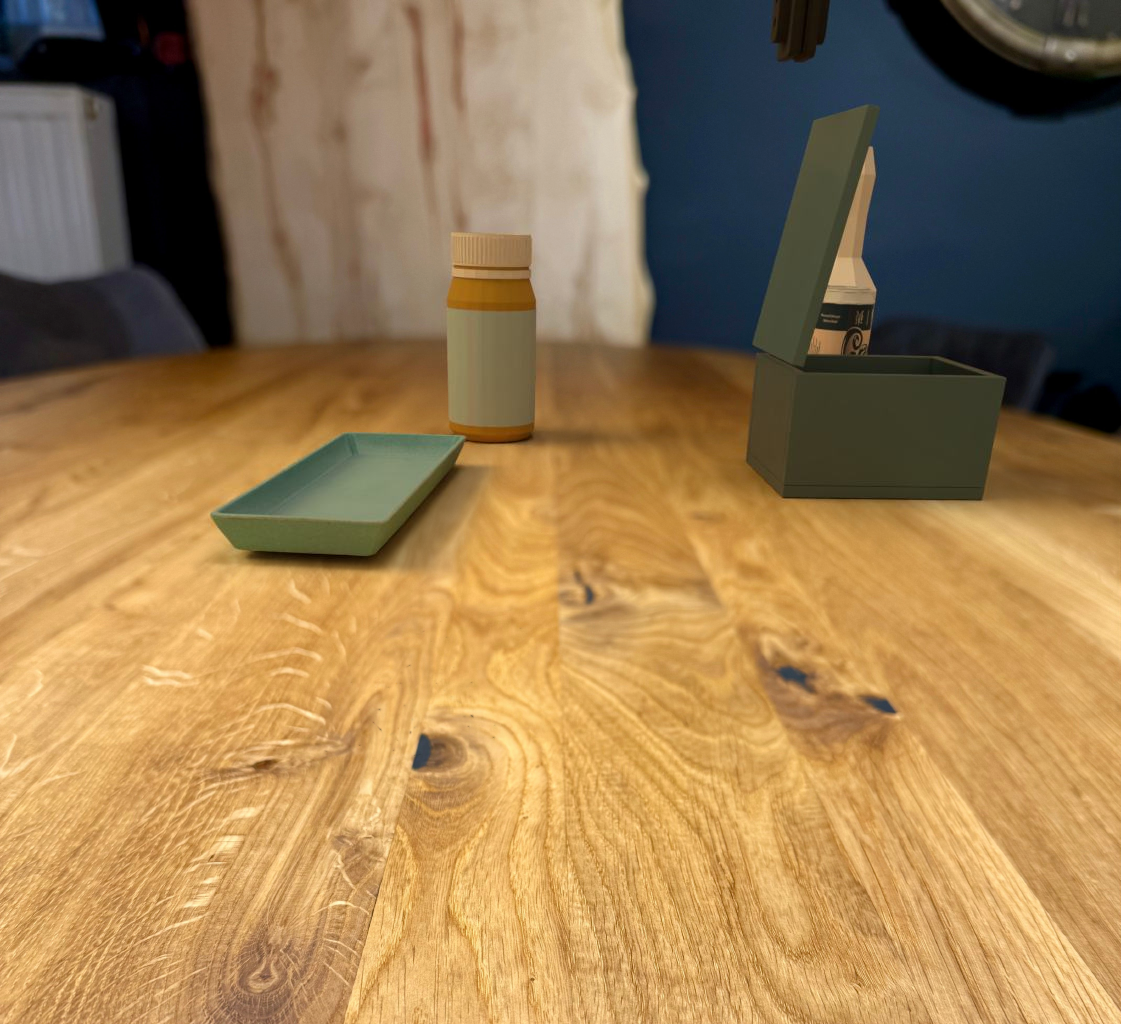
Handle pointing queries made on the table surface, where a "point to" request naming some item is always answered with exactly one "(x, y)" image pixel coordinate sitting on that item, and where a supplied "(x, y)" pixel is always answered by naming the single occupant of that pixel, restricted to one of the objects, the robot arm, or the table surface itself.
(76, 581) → the table surface
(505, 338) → the bottle
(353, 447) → the teal serving tray
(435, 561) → the table surface
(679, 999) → the table surface
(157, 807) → the table surface
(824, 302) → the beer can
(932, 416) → the chest
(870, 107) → the lid
